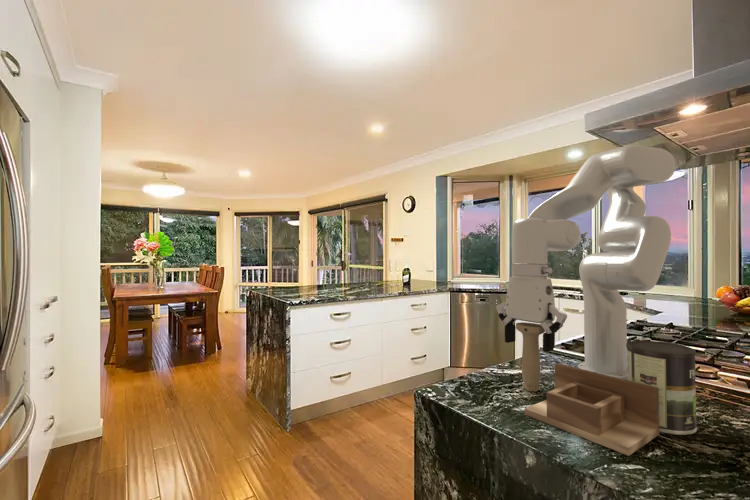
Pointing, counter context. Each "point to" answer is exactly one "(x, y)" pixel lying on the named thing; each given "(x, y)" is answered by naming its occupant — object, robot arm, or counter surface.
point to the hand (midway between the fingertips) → (528, 346)
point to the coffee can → (667, 381)
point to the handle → (530, 354)
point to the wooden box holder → (601, 409)
